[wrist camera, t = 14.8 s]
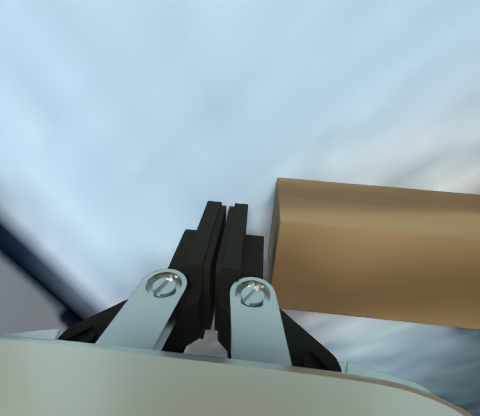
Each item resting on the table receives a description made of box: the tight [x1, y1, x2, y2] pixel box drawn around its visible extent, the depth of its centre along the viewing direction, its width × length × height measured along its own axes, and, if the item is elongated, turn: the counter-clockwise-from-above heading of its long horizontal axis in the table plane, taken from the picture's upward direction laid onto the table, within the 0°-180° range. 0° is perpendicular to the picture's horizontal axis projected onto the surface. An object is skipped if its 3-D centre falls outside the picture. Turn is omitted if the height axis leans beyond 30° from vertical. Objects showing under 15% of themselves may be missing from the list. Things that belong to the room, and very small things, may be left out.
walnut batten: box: [268, 178, 480, 330], centre depth 11 cm, size 4×15×4 cm, turn 87°
